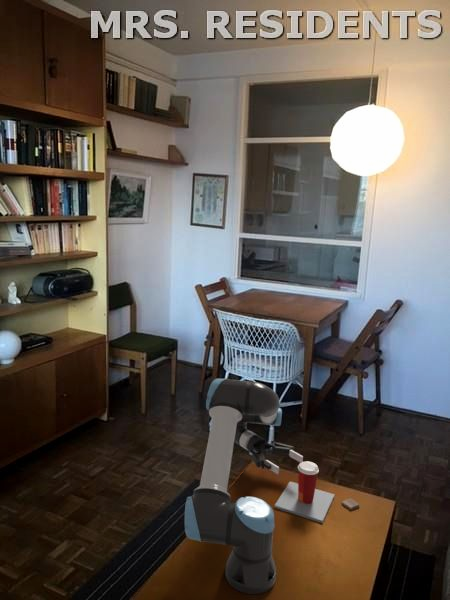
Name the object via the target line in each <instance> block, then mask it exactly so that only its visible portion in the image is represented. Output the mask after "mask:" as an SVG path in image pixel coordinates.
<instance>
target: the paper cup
mask: <svg viewBox="0 0 450 600" xmlns="http://www.w3.org/2000/svg"><path fill="white" fill-rule="evenodd" d="M319 469H320V468H319V467H318V465H317V463H314V462H312V461H308V460H307V461H303V462H301V463H300V462H299V464H298V465H297V470H298V480H297V481H298V500H299V501H300V502H301V503H303V504H311V503H312V502H313V498H314V493H315V489H316V485H317V480H318V473H319V471H320V470H319Z"/></svg>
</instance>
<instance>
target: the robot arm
mask: <svg viewBox="0 0 450 600" xmlns="http://www.w3.org/2000/svg"><path fill="white" fill-rule="evenodd" d="M205 408H206V410H207V411H208V414H209V417H210V418H212V419H211V423H210V429H209V434H208V441H207V446H206V450H205V457H204V462H203V467H202V473H201V478H200V482H199V486H198V487H196V488H195V489H194V490H193V494H192V495H190V496H187V498H186V499H185V500H186V502H185V506H184V507H185V508H184V530H185V531H184V532H185V535H186V537H187V538H188V539H190V540H193V541H199V542H200V543H202V542H204V543H210V544H218V545H225V546H232V550H231V553H229V554H230V555H229V557H228V559H227V562H226V564H225V577H226V581H227V582H228V584H229V585H230V586H231V587H232V588H233V589H235V590H236V591H239V592H241V593H243V594H247V595H260V594H264V593H265V592H267V591H269V590H271V588H272V587H274V585H275V583H276V578H277V568H276V565H275V560H274V558H273V552H272V551H273V541H274V539H273V537H274V530H275V514H274V513H275V512H274V510H273V508H272V507H271V506H270V504H268V503H267V502H266V501H265V500H263V499H261V498H259V497H256V496H251V495H250V496H248V495H245V496H244V497H243V496H242V497H239V498H238V499H237V500H236V502H231V497H232V496H231V495H230V493H229V492H228V486H229V485H228V484H229V479H230V474H231V473H230V471H231V465H232V459H233V453H234V452H233V451H234V446H235V445H234V444H236V445H238V446H240V447H242V448H243V449H245V450H246V451H248V452H249V453H248V455H249V457H250V458H251V459H252V460H253V463H254V464H255V466H256V468H260V467H261V469H262V470H263V469H267V470H269V471H271V472H273V473H275V474H276V475H280V466H278V465H276V463H275V464H274V463H273V462H271V461H270V460H268V459H266V458H265V456H267V455H270V454H272V455H274V454H281V455H288V456H289V457H290V458H291V459H294V460H295V461H297V462H298V463H299V464H300V463H301V462H304V461H303V459H304V456H303V455H301V454H300V453H298V452H297V451H295V450H294V448H295V447H294V446H292V445H291V444H290V445H288V444H285V443H281V442H277V441H275V440H271V442H270V443H269V442H266V441H265V439H264V438H263V437H261V436H260V435H258V434H256V433H255V432H253V431H252V430H249V429H248V428H247V427H248V426H247V425H248V424H249V423H250V424H259V425H267V426H272V427H273V426H276V427H280V426H281V424H282V418H283V417H282V415H283V410H282V408H280V399H279V396H278V394H277V393H276V392H275V391H274V390H273V389H272V388H270V387H269V386H268V385H266V384H263V383H261V382H257V381H248V380H239V379H230V378H229V379H228V378H226V377H225V378H214V380H212V382H211V383H210V385H209V389H208V391H207V395H206V401H205Z"/></svg>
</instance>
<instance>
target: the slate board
mask: <svg viewBox="0 0 450 600" xmlns="http://www.w3.org/2000/svg"><path fill="white" fill-rule="evenodd" d="M334 499H335V494H334V493H331V492H328V491H325V490H321V489H317V488H315V493H314V498H313V502H312V503H311V504H303V503H301V502H300V501H299V500H298V483H297V482H293V481H291V480H290V481H289V482H288V484H287V485H286V487H285V489H284V490H283V492H282V493H281V495H280V496H279V498H278V500H277V501H276V503H274V506H273V507H274V509H277V510H280V511H282V512H286V513H288V514H289V513H290V514H292V515H296V516H299V517H302V518H304V519H308V520H311V521H315V522H317V523H321V524H323V523H324V521H325V519H326V516H327V514H328V511H329V510H330V507H331V505H332V503H333V501H334Z"/></svg>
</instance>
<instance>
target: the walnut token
mask: <svg viewBox="0 0 450 600" xmlns="http://www.w3.org/2000/svg"><path fill="white" fill-rule="evenodd" d="M341 505H343V506H344V507H345V508H347V510H349V511H353V510H355V509H358V508H360V503H358V502H356V501H355V500H354V499H352V498H351V497H350V498H347V499H345V500H343V501H341Z"/></svg>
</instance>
